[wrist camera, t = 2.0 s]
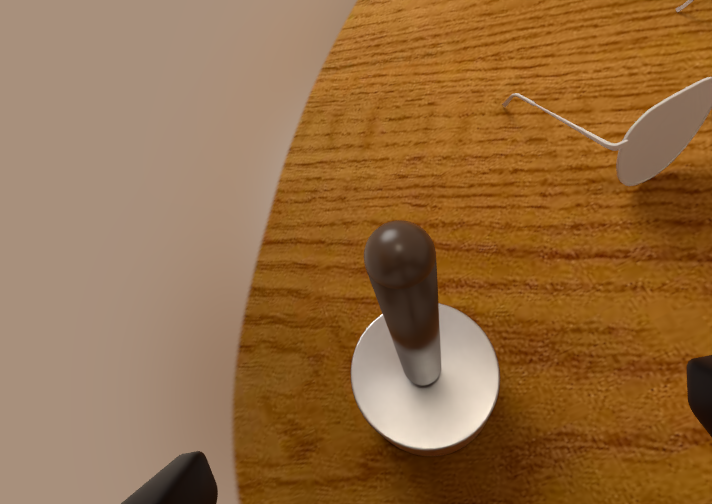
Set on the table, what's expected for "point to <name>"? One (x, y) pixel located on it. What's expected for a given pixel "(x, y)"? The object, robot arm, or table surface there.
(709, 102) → the sunglasses
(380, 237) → the silver joystick
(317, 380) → the table surface
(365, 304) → the table surface
